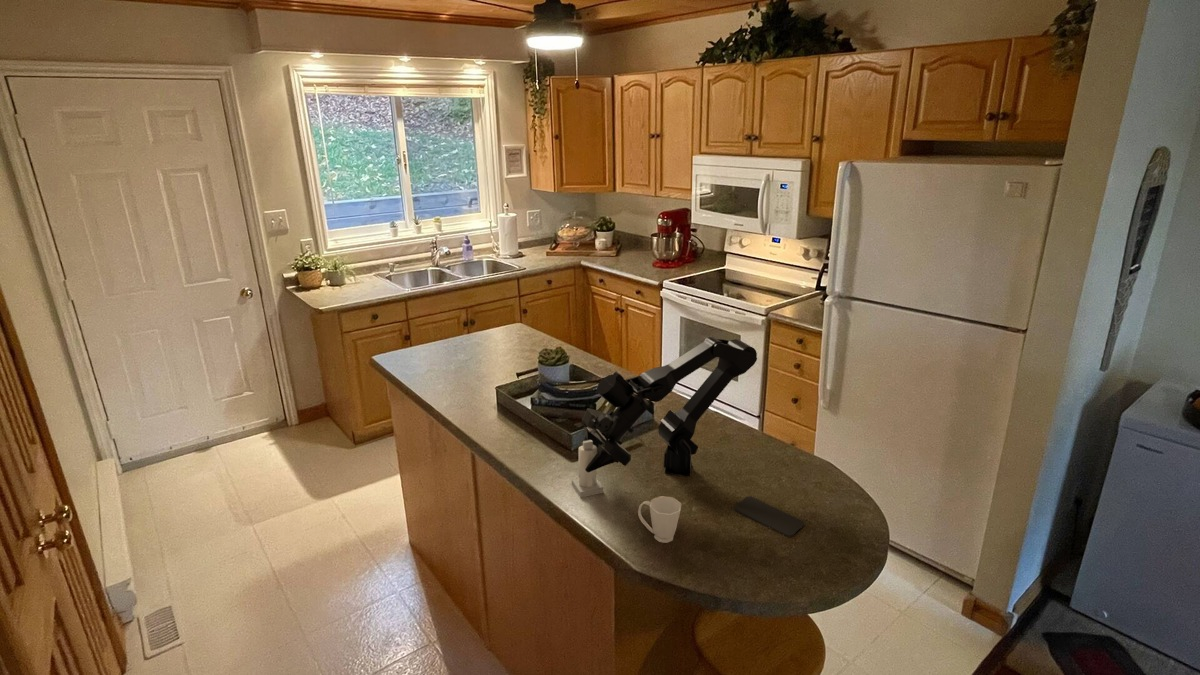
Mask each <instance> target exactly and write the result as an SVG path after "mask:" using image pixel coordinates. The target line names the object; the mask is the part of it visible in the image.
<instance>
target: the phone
mask: <svg viewBox="0 0 1200 675" xmlns="http://www.w3.org/2000/svg"><path fill="white" fill-rule="evenodd" d="M733 510H734V512H737V513H738V512H739V513H738V514H740V515H742V514H743V515H742V516H744V517H746V518H748V519H750V520H752V521H754V522H756V523H758V522H759V523H758V524H760V525H762V524H763V525H762V526H764V525H765V526H764V527H766V526H767V527H766V528H768V527H770V528H772V529H774V530H775V532H776V531H778V532H780V533H781V534H780V533H779V534H780V535H782V534H784V535H785V537H787V536H792V537H793V535H794V534H795V533H796V532H797V531H798V530H799V529H800V528H801V527H803V526H804V527H805V525H804V524H806V522H805V521H803V520H802V519H800V518H797V517H796V516H793V515H792V514H790V513H787V512H785V511H783V510H780V509H779V508H777V507H775V506H772V505H770V504H769V503H766V502H764V501H762V500H761V499H758V498H755V497H754V496H750V495H749V496H745V498H743V499H742V500H741V501H739V502H737V503H736V504H735V505H734V506H733ZM804 527H803V528H804ZM770 528H769V529H770ZM772 529H771V530H772ZM774 530H773V531H774ZM800 530H801V529H800ZM800 530H799V531H800ZM799 531H798V532H799ZM778 532H777V533H778ZM798 532H797V533H798ZM797 533H796V534H797ZM796 534H795V535H796ZM784 535H783V536H784ZM795 535H794V536H795Z"/></svg>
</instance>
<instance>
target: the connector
mask: <svg viewBox="0 0 1200 675" xmlns="http://www.w3.org/2000/svg"><path fill="white" fill-rule="evenodd" d="M582 444H583V446H582V445H580V446H579V447H578V453H579V460H578V477H577V478H572V479H571V486H572V487H573V489H574V490H575V492H576V493H578V494H577V495H578V497H579V496H580V497H579V498H585V497H588V496H589V497H590V496H595V495H598V494H603V493H604V486H603V484H602V483H601V481H600V480H599V479H598V477H597V469H596V470H593V471H591V472H587V471H586V470H585V469H586V467H587V466H588V464H589V463H590V462H591V460H592V459H593V458H594V457H595V455H596V454H597V453H598V448H597V447H596V446H595V445H593V441H592V440H587V441H584V440H583V441H582Z"/></svg>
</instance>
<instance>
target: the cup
mask: <svg viewBox="0 0 1200 675" xmlns="http://www.w3.org/2000/svg"><path fill="white" fill-rule="evenodd" d="M643 505H646V506H648V507H649V512H650V520H651V526H652V527H651V526H650V525H649V524H648V522H647V521H646V520H645V518H644V517H643V516H642V507H643ZM681 509H682V502H680V501H679V500H677V499H676V498H675V497H672V496H664V495H660V496H656V497H655V498H652V499H650V501H649V500H644V501H643V502H641V504H639V507H638V509H637V513H638V514H637V515H638V518H639V520H640V522H641V523H642V524H643V526H645V527H646V529H647V530H648V531H649V532H651V533H652V534H654V536H653V538H654V539H655V540H656V541H658V542H659V543H664V544H665V543H666V544H667V543H671V542H673V540H674V535H675V533H676V531H677V527H678V523H679V518H680V515H681V514H680V513H681V511H682V510H681Z"/></svg>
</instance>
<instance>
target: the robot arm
mask: <svg viewBox="0 0 1200 675" xmlns="http://www.w3.org/2000/svg"><path fill="white" fill-rule="evenodd" d="M757 356H758V353H757V350H756V349H755V348H754V347H753V346H750V345H749V344H747V343H745V342H744V341H742V340H740V339H736V338H735V339H731V340H727V339H724V338H715V337H714V336H712V337H710V336H709V337H706V338H705V339H704V340H703V342H701V343H699V344H698V345H697V346H694V347H692V349H690V350H689V351H687V352H685V353H684V354H682V355H681V356H679V357H678V358H676V359H674V360H673V361H671V362H669V363H668V364H665V365H664V366H663V365H662V366H657V367H653V368H651V369H647V370H645V371H643V372H641V373H640V374H639V375H637V376H633V377H630V378H627V379H625V378H624V377H623V376H622V375H621V374H620V373H619V372H618V371H617V370H615V371H614V373H613V374H608V375H606V376H605V377H602V378H601V380H600V381H599V383H598V384H597V386H596V392H597V394H598V395H599V396H600V397H601V398H603V400H605V401H606V402H607V403H608V404H610V405H611V406H613V408H615V409H614V410H613V409H610V410H609V409H608V410H607V411H606V412H602V411H599V410H597V409H594V408H590V407H588V408H586V411H585V413H584V415H583V417H582V418H581V422H582V424H584V425H585V426H584V425H583V426H584V427H583V429H584V433H585V434H584V439H583V441H587V440H592V441H593V445H595V446H596V447H597V454H596V455H595V457H594V458H593V459H592V460H591V462H590V463H589V464H588V466H587V467H586V469H585V470H586V471H587V472H591V471H593V470H596V471H597V470H598V469H600V468H602V467H605V466H608V465H611V464H614V463H617V464H618V463H621V465H623V467H626V466H628V464H629V463H630V462H631V460H632V455H631V454H630V452H629V451H628V450H626V448H625V447H624V446H622V444H623V442H622V439H623V437H625V435H626V434H627V433H628V432H629V433H630V434H632V433H633V432H634V429H633V428H632V427H633V426H635V424H636V422H638V421H639V419H640V418H641V417H642V416H643V415H644V414H645V413H646V412H648V413H650V414H651V415H655V410H654V405H655V403H659V402H661V401H662V400H664V399H665V398H666V397H667V396H668V395H669V394H670V393H672V391H673V390H674V388H675V386H676V384H678V383H679V382H680V381H681V380H683V379H685V378H687V377H688V376H689V375H691V374H693V373H694V372H696V371H697V370H699V369H700V368H702V367H703V366H705V365H707V363H710V362H711V361H712V360H714V359H716V358H718V362H717V365H716V367H715V368H714V370H712V372H711V373H710V374H709V375H708V377H707V378H706V379H705V380H704V382H703V383H702V384H701V385H699V386H700V387H699V388H698V389H697V390H696V391H695V392H694V393H693V394H692V396H691V397H690V398H689V399H688V401H686V403H685V404H684V406H683V407H682V408H681V409H679V410H677V411H673V409H670V410H668V412H667V413H666V414H665V416H664V417H663V418H661V419H660V421H659V422H660V424H659V425H658V427H657V429H658V431H657V433H658V436H659V437H660V438H661V439H662V440H663V442H664V443H666V445H667V447H666V448H665V449H664V454H663V468H664V473H665V474H666V475H667V474H668V475H675V476H683V477H690V476H691V473H692V467H693V466H692V465H693V463H692V457H693V455H695V454H697V452H698V449H699V446H698V444H696V443H695V442H694V441H693V440H692V439H693V436H694V434H695V430H696V427H697V422H698V421H699V420H700V419H701V418H702V416H703V415H704V414H705V412H706V411H707V410H708V408H710V407H711V405H712V404H713V403H714V402H715V401H716V399H717V398H718V397H719V396H720V394H721V393H723V391H724V390H725V388H726V387H727V386H728V385H729V384H730V383H731V381H733V379H734V378H737V377H739V376H741V375H743V374H745V373H747V372H748V371H749V370H750V369H751V368H752V367H753V366H754V365H755V364H756V363H757V360H758V357H757ZM654 402H655V403H654ZM603 444H604V447H603V446H602V445H603ZM581 446H583V443H582V444H581ZM576 459H577V460H578V461H579V452H578V453H577V456H576Z"/></svg>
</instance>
